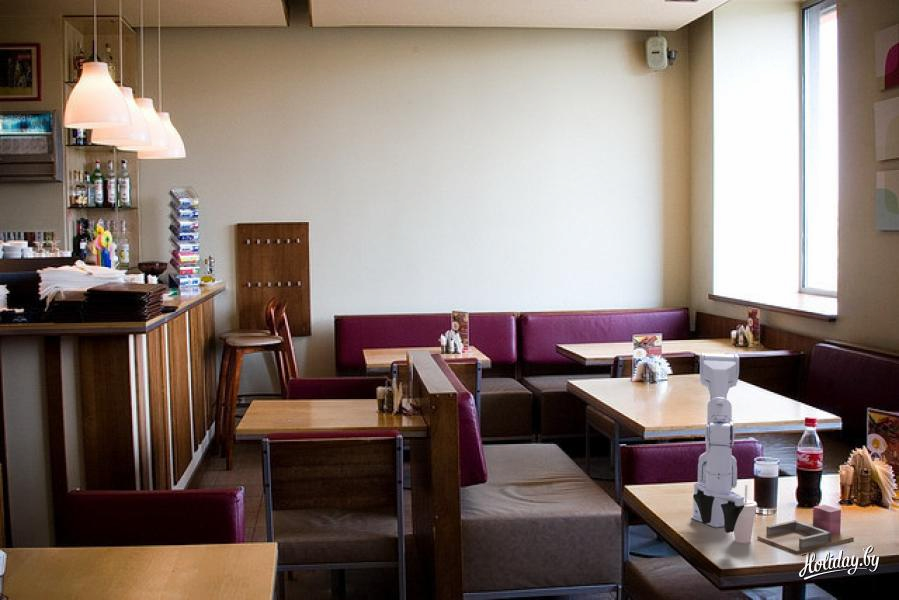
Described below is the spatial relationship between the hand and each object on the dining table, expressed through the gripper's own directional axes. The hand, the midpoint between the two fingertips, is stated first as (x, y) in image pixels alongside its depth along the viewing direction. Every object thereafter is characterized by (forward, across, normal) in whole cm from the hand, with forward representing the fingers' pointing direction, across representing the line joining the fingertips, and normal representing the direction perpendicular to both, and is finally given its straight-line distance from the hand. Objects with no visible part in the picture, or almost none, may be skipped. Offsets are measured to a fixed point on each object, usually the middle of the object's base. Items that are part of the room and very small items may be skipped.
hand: (717, 527), depth 223 cm
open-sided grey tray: (+5, +7, +22) cm, 24 cm away
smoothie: (+5, 0, +8) cm, 10 cm away
